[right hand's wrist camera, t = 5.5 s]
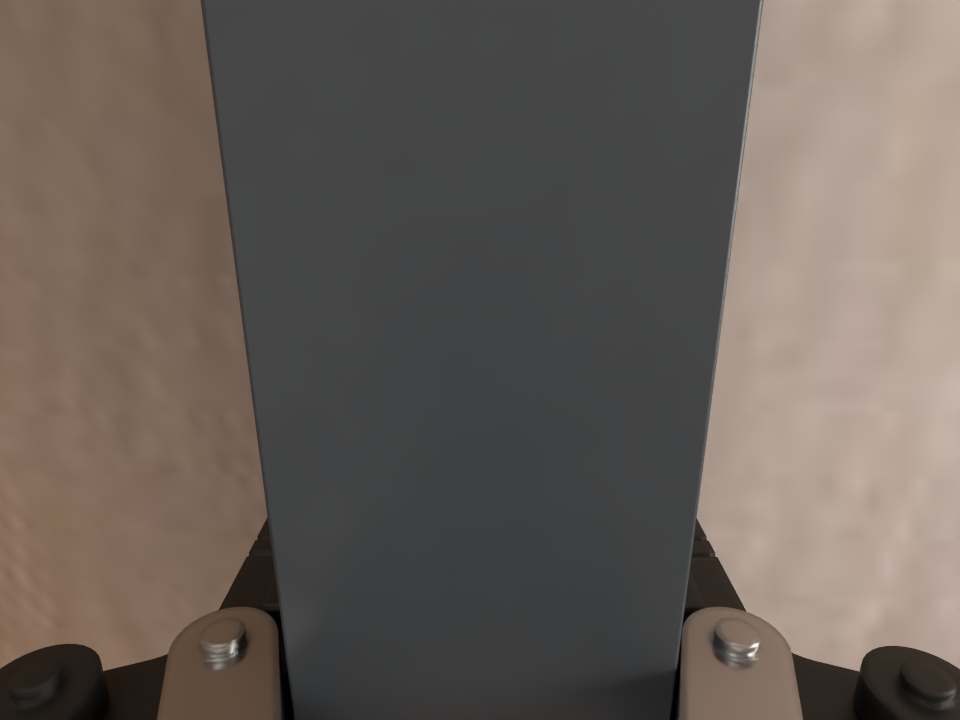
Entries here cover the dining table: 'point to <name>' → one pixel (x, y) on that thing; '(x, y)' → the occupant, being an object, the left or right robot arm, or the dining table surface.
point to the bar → (482, 336)
